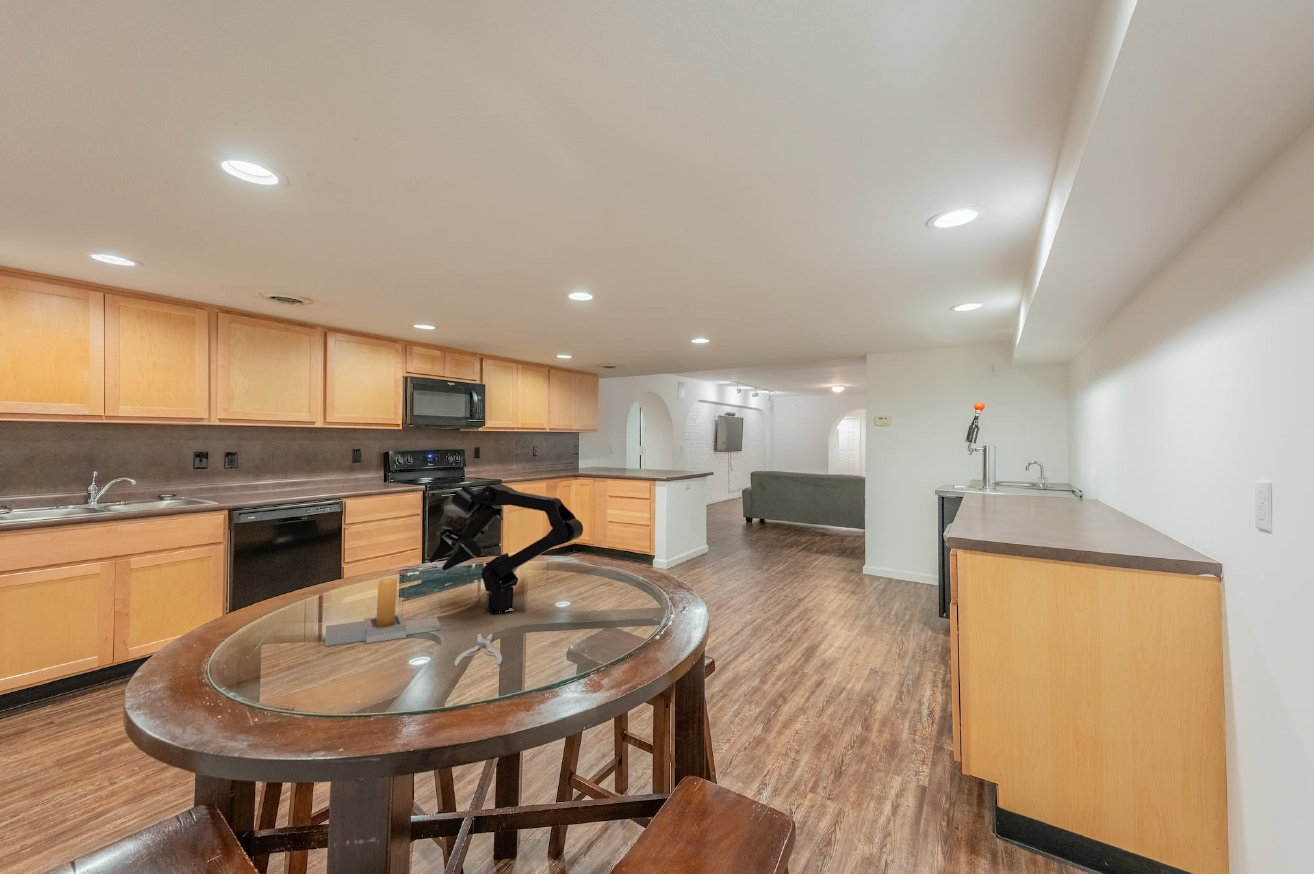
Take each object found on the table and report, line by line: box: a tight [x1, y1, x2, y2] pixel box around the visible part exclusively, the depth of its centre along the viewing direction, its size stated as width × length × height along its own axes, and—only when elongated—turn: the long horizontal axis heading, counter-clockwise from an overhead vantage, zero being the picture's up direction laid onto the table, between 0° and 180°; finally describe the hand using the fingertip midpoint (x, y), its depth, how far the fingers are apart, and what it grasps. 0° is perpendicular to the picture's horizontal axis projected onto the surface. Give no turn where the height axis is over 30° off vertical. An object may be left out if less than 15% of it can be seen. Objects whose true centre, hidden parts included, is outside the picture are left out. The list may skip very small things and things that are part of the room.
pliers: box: [454, 633, 503, 668], centre depth 119 cm, size 10×2×15 cm
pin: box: [375, 578, 398, 627], centre depth 126 cm, size 4×4×13 cm
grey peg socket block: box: [324, 613, 441, 647], centre depth 126 cm, size 24×8×3 cm, turn 123°
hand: (436, 565), depth 140 cm, fingers open, 9 cm apart
